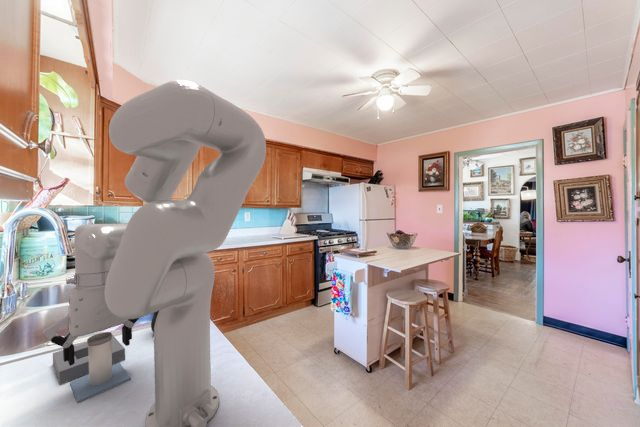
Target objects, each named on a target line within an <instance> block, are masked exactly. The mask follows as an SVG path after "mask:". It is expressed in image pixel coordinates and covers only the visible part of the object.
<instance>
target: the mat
mask: <svg viewBox="0 0 640 427" xmlns="http://www.w3.org/2000/svg"><path fill="white" fill-rule="evenodd" d="M130 380H132V377H131V375H129V373H128V372H127V370H126V369H125V368H124V366H123V365H122V364H121V362H118V363H116V364H113V365H112V378H111V379H110V380H109V381H107V382H105V383H103V384H101V385H97V386H90V385H89V374H87V375H85V376H82V377H79V378H77V379H74V380H72V381H69V385H70V388H71V390H72V392H73V395H74V398H75V400H76V403H77V404H79V403H82V402H83V401H86V400H88V399H90V398H92V397H95V396H97V395H99V394H102V393H105V392H106V391H108V390H111V389H114V388H115V387H117V386H119V385H122V384H124V383H126V382H129V381H130Z"/></svg>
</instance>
